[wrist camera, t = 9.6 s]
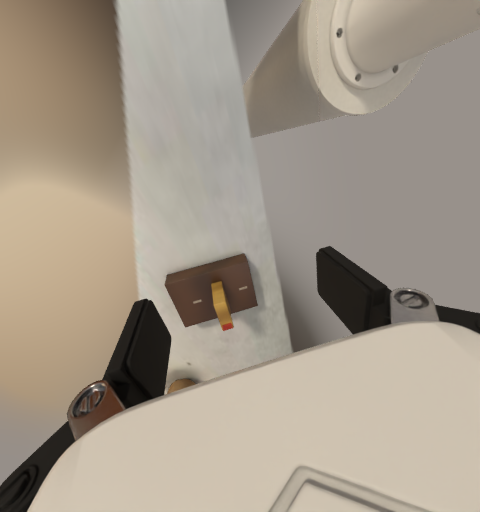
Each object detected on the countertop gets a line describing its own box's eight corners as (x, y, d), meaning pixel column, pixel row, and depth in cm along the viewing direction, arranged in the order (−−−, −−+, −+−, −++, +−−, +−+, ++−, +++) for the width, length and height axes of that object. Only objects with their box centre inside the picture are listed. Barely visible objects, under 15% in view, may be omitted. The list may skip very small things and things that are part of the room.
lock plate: (244, 253, 37) (248, 261, 34) (254, 296, 42) (258, 306, 39) (166, 275, 36) (164, 285, 33) (185, 316, 41) (185, 328, 38)
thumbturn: (211, 283, 35) (213, 306, 30) (221, 280, 35) (225, 302, 30) (219, 307, 37) (222, 332, 32) (228, 304, 38) (234, 328, 33)
